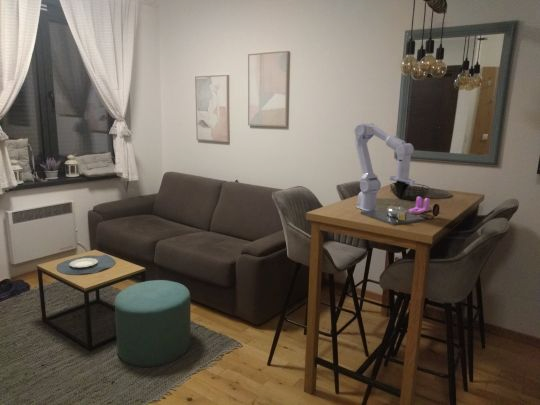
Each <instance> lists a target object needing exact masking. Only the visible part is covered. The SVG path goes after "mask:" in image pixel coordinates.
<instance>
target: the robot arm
mask: <svg viewBox="0 0 540 405" xmlns="http://www.w3.org/2000/svg"><path fill="white" fill-rule="evenodd" d="M353 131H354V135H355V140H354V141H355V148H356V152H357V156H358V161H359V164H360V165H359V166H360V170H361V174H362V176H361V177H360V178H359V183H360V184H359V188H360V192H359V193H358V196H357V206H356V207H355V209H360V210H362V211H370V210H379V208H377V198H378V192H379V190H380V189H381V188H382V186H381V185H382V184H381V181H380V180H379V178H378V176H377V175H376V173H374V170H373V165H372V161H371V157H370V152H369V147H368V142H369V140H371V139H372V138H373V137H374V136H375V137H377V138H378V139H380V140H382V141H384V142H385V145H386V146H387V147H388V148H390V149H392V150H393V151H394V152H395V153H396V155H397V156H396V158H397V162H396V171H395V172H396V174H395V175H390V176H389V181H395V182H393V185H394V187H395V191H396V193H397V194H396V195H397V198H398V199H399V198H400V199H401V198H403V197H404V195H405V193H406V190H407V189H408V187H409V186H415V185H416V181H415V180H414V179H410V168H411V158H412V156H411V155H413V153H414V152H415V147H414V146H413V144H412V143H410V142H408V143H407V142H406V141H405V140H402V139H401V138H399V136H398V135H396V134H394V135H392V134H391V135H390V134H389V133H387V132H385V131H384V130H383V129H382V128H380V127H379V126H378V125H376V124H375V123H373V122H371V123H358V124H357V125H356V126H355V128H354V129H353Z"/></svg>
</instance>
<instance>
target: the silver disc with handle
mask: <svg viewBox="0 0 540 405" xmlns="http://www.w3.org/2000/svg"><path fill="white" fill-rule="evenodd" d="M386 209H387V215H388V216H392V217H397V218H398V220H405V217H406V216H407V213H408V209H407V208H404V206H403V205H400V206H394V205H389V206H388V207H387V208H386Z"/></svg>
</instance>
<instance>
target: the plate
mask: <svg viewBox="0 0 540 405" xmlns="http://www.w3.org/2000/svg"><path fill="white" fill-rule="evenodd" d="M378 209H379V208H378ZM360 215H363V216H365V217H368V218H371V219H374V220H376V221H379V222H382V223H386V224H388V225H391V226H395V225H396V226H397V225H403V224H404V225H405V224H410V223H417V222H424V221H425V220H426V219H425V218H422V217H420V215H417V214H412V213H409V212H407V216H406V217H405V220H398V218H397V217H392V216H388V215H387V208H380V209H379V210H370V211H365V210H362V211H361V210H360Z"/></svg>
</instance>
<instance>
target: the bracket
mask: <svg viewBox="0 0 540 405" xmlns="http://www.w3.org/2000/svg"><path fill="white" fill-rule="evenodd" d="M430 200H431V199H430V198H429V197H425V198H424V199H423V197H421V196H416V199H415V206H414V207H412V208H409V209H408V213H409V212H410V213H409V214H412V213H413V214H412V215H419V214H420V215H421V214H423V213H425V212H424V211H426V212H429V210H430V203H431V202H430ZM422 202H423V206H422ZM416 210H417V211H416ZM422 212H423V213H422Z"/></svg>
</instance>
